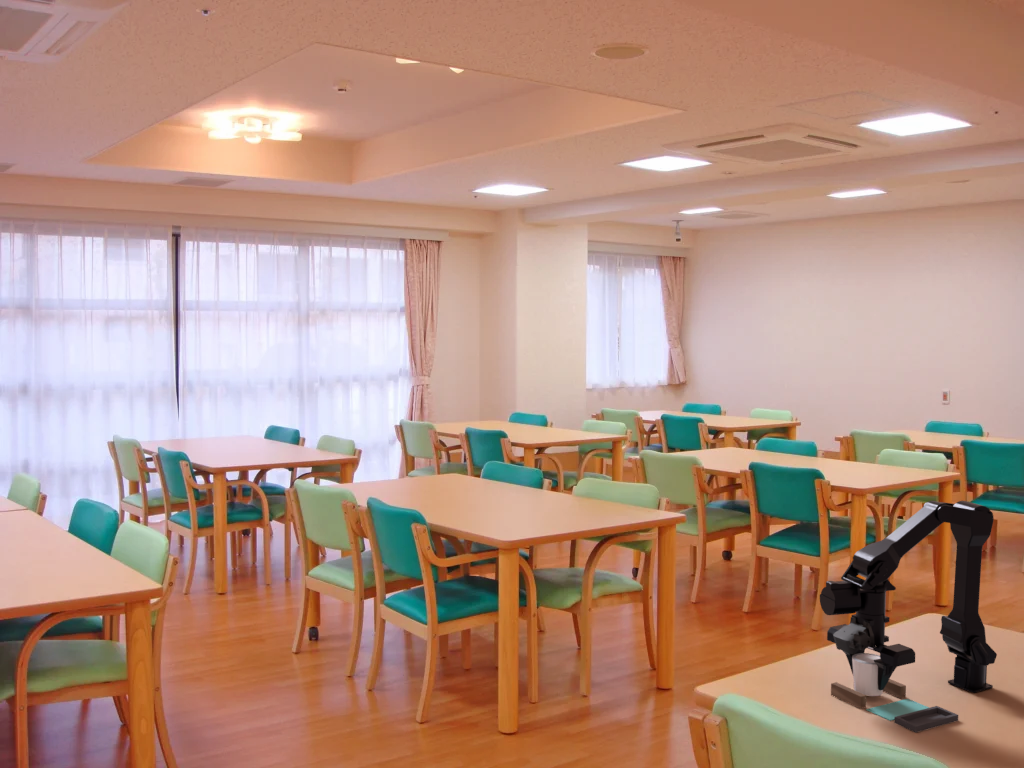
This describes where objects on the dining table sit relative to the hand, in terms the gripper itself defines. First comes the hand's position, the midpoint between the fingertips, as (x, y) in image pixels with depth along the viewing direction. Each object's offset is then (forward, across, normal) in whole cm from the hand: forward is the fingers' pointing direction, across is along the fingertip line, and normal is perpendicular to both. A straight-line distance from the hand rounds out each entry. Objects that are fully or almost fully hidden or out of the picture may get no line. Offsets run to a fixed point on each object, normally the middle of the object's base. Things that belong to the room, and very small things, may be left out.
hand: (868, 684), depth 204 cm
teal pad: (+2, +8, 0) cm, 8 cm away
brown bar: (+2, 0, 0) cm, 3 cm away
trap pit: (+2, +14, 0) cm, 15 cm away
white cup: (+2, 0, 0) cm, 2 cm away
